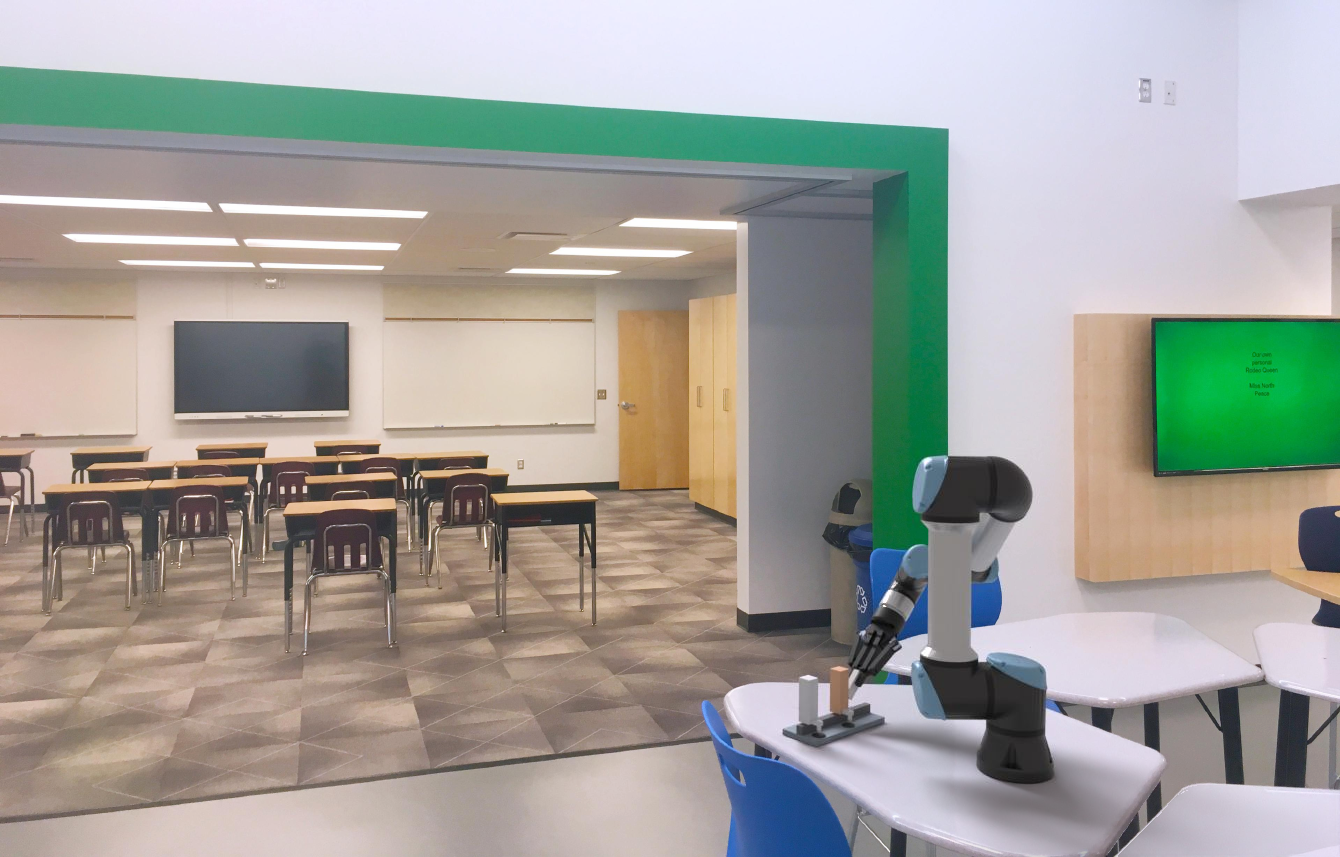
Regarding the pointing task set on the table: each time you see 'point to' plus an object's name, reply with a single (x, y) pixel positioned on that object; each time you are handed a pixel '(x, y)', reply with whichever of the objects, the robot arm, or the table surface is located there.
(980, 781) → the table surface
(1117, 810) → the table surface
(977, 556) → the robot arm
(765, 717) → the table surface
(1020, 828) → the table surface
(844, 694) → the post
